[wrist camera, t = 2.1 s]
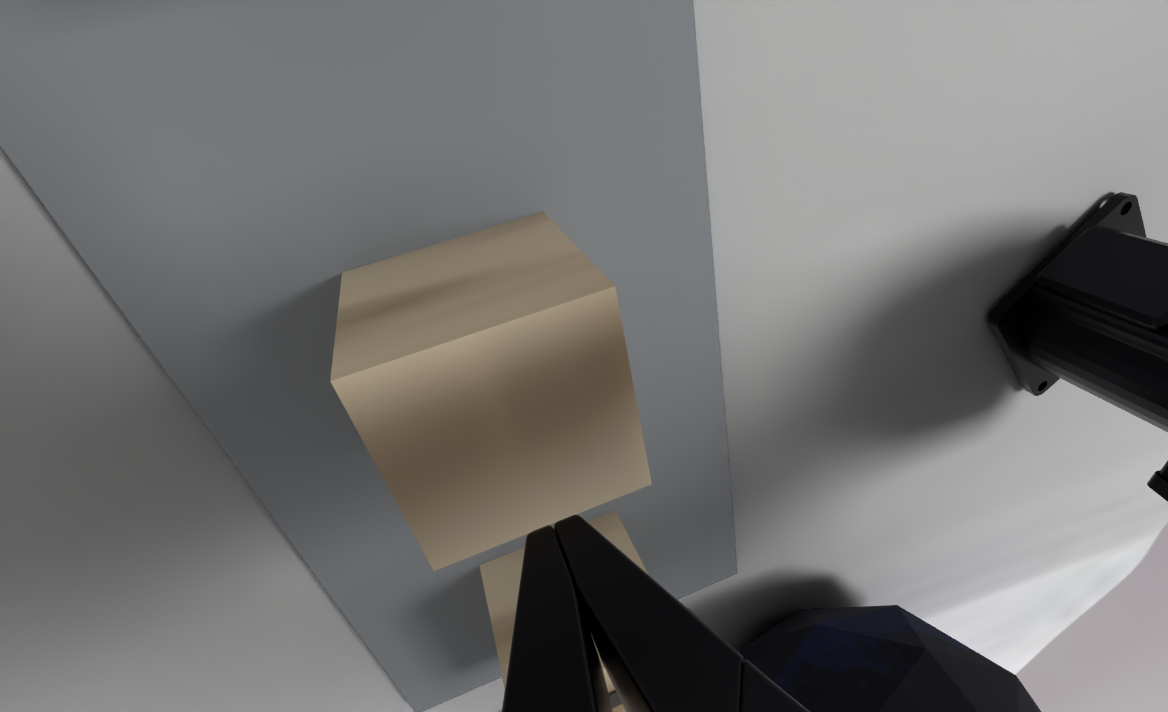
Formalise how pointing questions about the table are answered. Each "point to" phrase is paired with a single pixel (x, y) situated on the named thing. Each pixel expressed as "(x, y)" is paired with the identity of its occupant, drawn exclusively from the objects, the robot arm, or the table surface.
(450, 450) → the plain block
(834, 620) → the decorative orb
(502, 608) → the marked block
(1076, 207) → the table surface
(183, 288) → the mat
